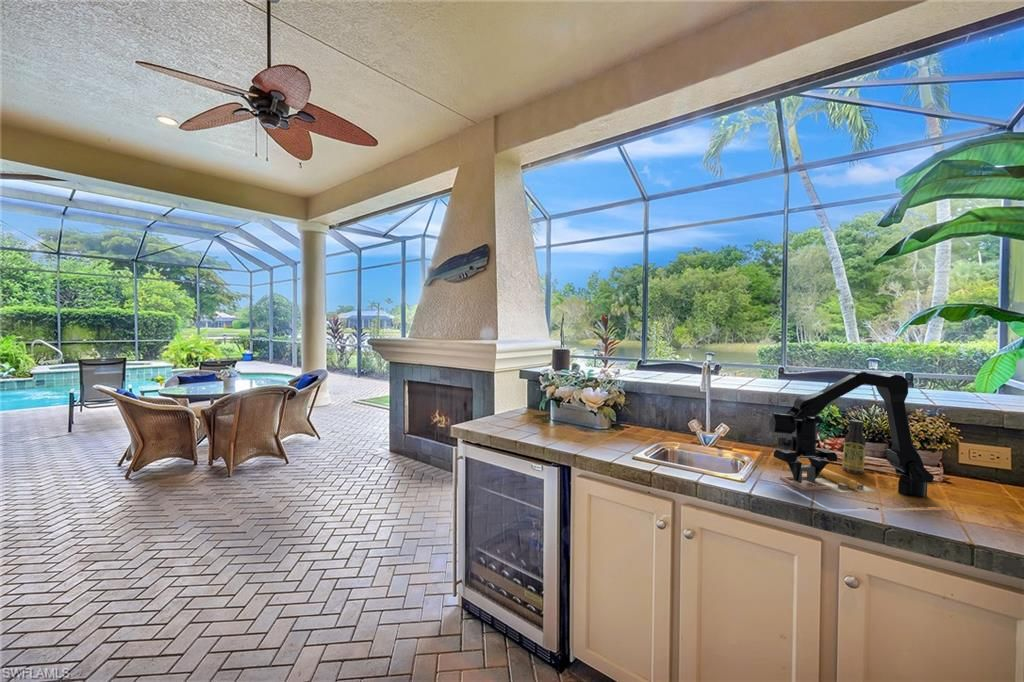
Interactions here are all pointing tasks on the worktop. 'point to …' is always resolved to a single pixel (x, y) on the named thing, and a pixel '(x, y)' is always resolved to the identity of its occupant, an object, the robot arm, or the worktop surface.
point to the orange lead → (838, 478)
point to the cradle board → (842, 485)
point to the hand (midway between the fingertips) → (804, 480)
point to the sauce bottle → (854, 448)
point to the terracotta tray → (822, 486)
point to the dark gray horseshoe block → (810, 473)
